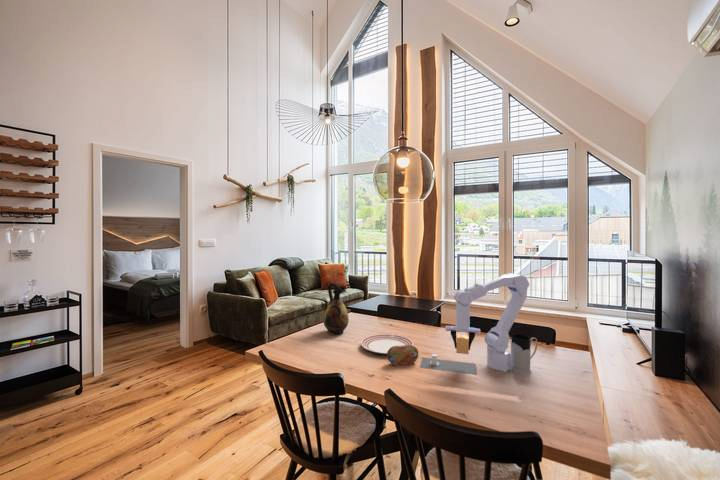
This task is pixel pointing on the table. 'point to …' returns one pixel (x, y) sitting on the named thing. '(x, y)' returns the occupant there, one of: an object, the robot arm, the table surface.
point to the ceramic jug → (335, 312)
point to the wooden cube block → (462, 344)
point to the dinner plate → (384, 342)
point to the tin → (402, 354)
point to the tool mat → (448, 365)
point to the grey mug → (521, 353)
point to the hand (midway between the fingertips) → (462, 348)
